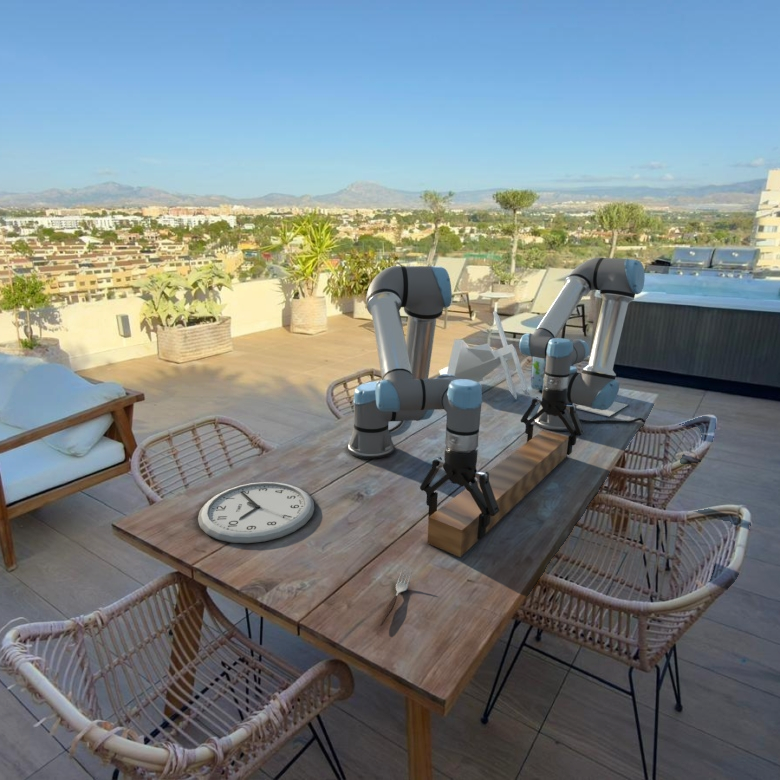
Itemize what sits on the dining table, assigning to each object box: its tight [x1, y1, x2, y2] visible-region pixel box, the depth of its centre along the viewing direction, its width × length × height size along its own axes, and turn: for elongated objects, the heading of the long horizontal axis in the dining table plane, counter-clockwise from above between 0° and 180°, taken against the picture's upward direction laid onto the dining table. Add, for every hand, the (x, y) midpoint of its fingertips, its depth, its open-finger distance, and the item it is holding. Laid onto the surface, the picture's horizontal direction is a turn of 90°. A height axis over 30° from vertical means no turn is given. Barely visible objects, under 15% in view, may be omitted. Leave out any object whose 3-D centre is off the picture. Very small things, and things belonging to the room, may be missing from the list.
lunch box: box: [530, 357, 574, 391], centre depth 249 cm, size 26×11×21 cm, turn 134°
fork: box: [379, 570, 413, 627], centre depth 106 cm, size 3×16×2 cm, turn 160°
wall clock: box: [197, 481, 315, 544], centre depth 139 cm, size 30×2×30 cm
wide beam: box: [426, 430, 569, 558], centre depth 150 cm, size 72×9×7 cm, turn 143°
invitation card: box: [576, 401, 629, 418], centre depth 226 cm, size 21×1×15 cm
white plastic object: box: [438, 310, 531, 400], centre depth 245 cm, size 37×45×31 cm
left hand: (456, 527), depth 127 cm, fingers open, 13 cm apart
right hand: (548, 448), depth 174 cm, fingers open, 13 cm apart
